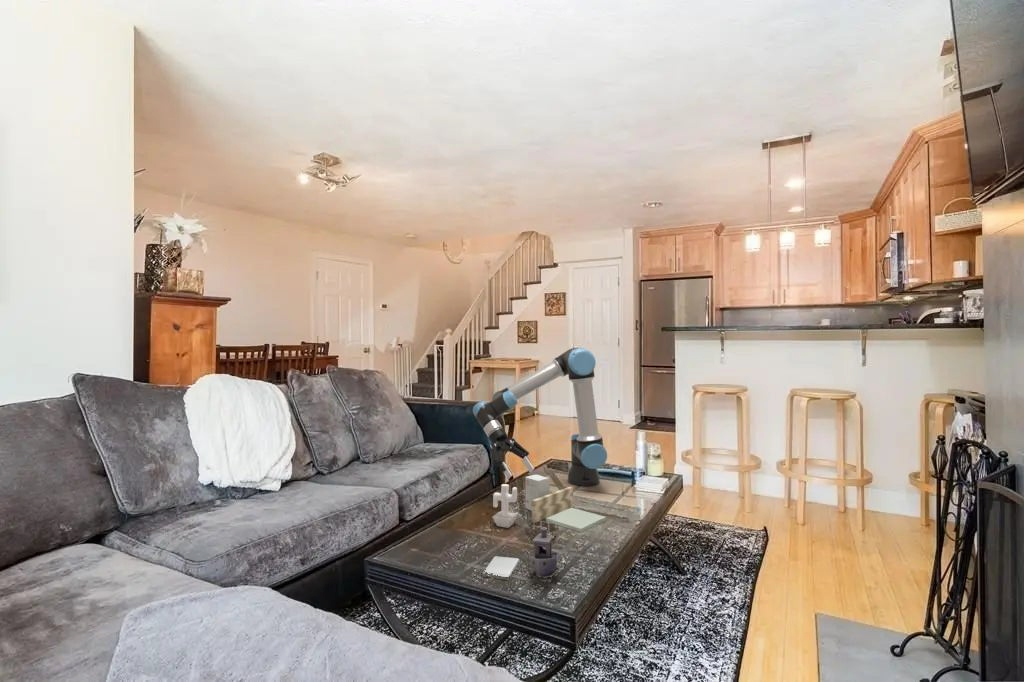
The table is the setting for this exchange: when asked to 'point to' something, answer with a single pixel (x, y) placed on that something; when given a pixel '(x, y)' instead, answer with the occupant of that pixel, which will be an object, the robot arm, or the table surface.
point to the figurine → (505, 506)
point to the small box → (535, 488)
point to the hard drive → (502, 566)
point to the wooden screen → (552, 504)
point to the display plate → (576, 519)
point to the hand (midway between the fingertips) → (521, 474)
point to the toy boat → (544, 555)
